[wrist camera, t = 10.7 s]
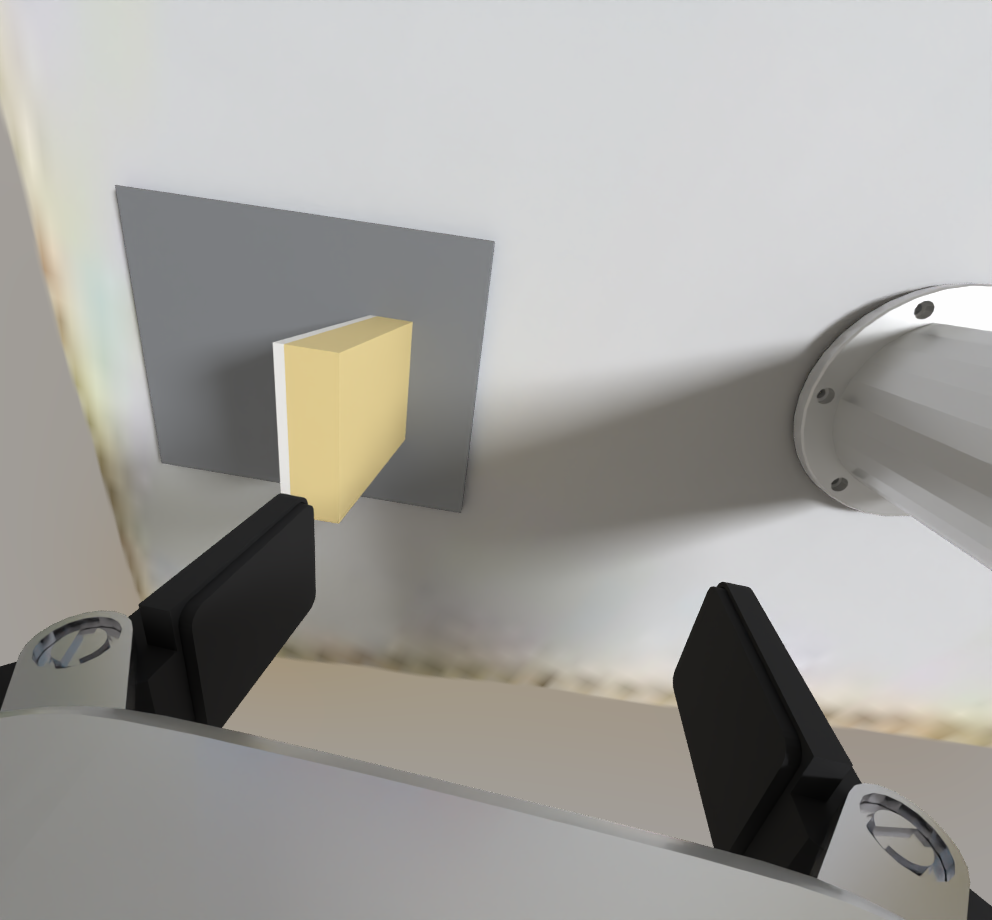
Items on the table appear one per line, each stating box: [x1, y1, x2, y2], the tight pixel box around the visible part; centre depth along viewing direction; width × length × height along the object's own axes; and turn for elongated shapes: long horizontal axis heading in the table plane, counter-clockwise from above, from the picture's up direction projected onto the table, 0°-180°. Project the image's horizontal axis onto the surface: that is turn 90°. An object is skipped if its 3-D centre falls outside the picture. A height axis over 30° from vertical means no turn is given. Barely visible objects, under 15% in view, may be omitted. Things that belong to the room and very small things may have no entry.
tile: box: [273, 315, 413, 524], centre depth 22 cm, size 2×7×10 cm, turn 172°
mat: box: [115, 185, 495, 513], centre depth 27 cm, size 20×16×1 cm
